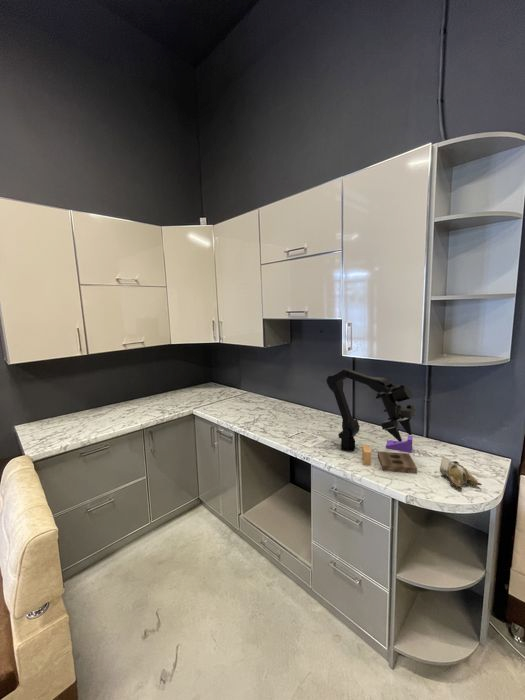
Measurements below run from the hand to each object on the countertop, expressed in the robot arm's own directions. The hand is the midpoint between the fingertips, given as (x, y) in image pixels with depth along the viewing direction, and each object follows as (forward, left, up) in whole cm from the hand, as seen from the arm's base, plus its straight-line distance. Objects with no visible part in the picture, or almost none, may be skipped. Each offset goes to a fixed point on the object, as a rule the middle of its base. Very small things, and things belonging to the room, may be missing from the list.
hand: (405, 438), depth 137 cm
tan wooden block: (-16, +3, -14) cm, 21 cm away
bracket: (+2, +21, -14) cm, 25 cm away
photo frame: (-46, +24, -14) cm, 54 cm away
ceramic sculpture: (+18, -8, -14) cm, 24 cm away
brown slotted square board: (-3, +2, -14) cm, 14 cm away
